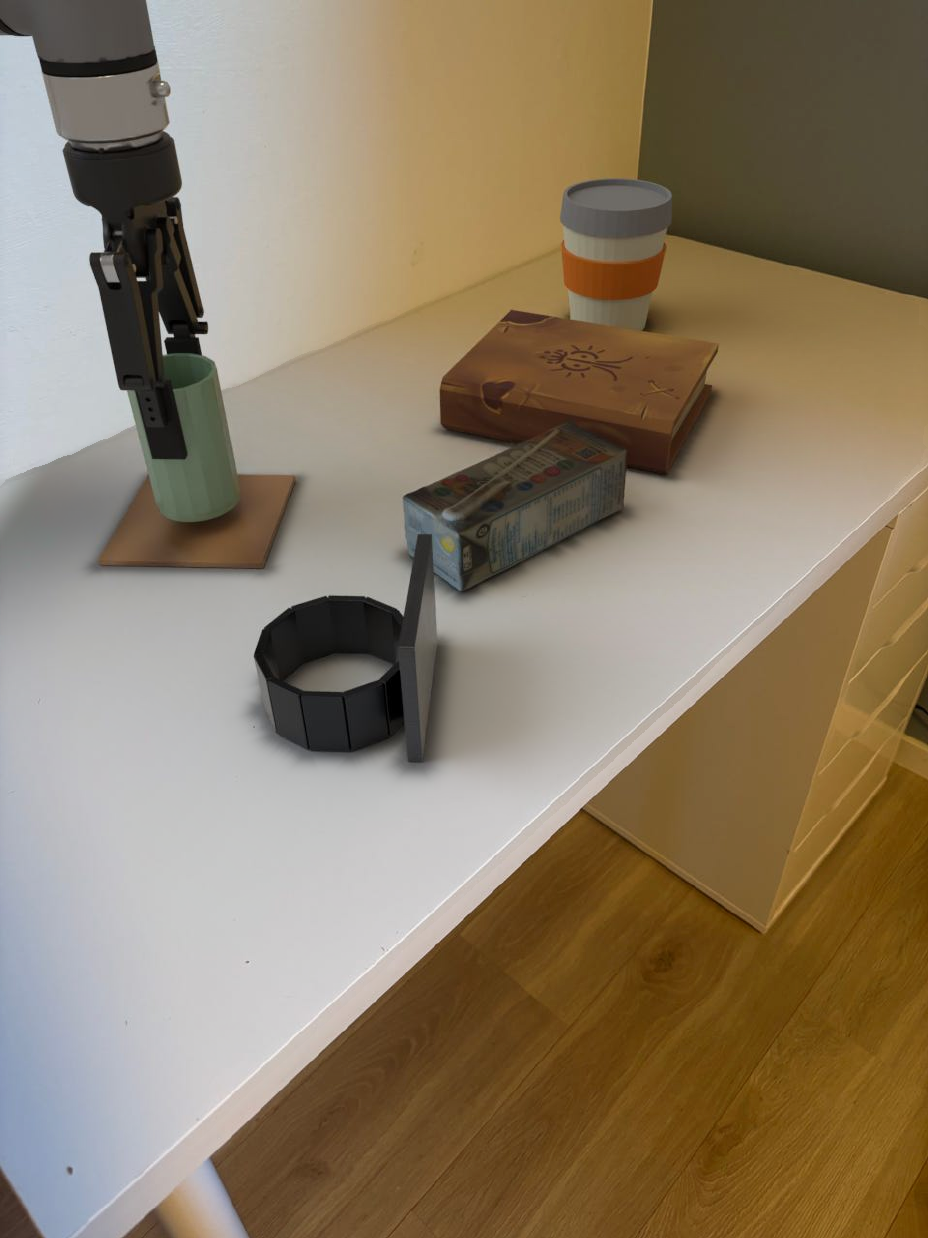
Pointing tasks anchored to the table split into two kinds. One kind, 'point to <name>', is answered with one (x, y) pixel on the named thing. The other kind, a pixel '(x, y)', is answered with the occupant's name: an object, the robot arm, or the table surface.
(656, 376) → the diary
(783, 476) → the table surface
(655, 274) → the reusable coffee cup
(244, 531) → the cork tile
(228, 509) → the cup
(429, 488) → the beverage carton
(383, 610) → the ring cup holder
